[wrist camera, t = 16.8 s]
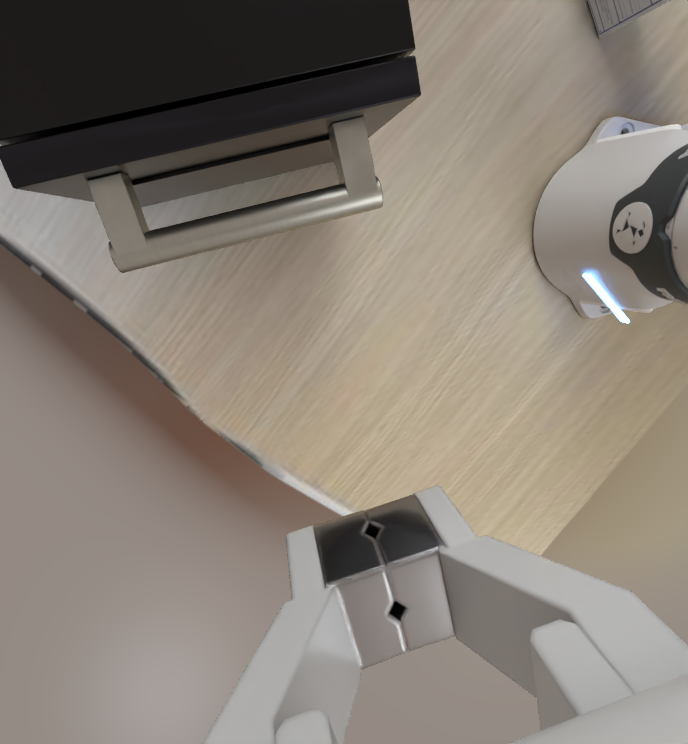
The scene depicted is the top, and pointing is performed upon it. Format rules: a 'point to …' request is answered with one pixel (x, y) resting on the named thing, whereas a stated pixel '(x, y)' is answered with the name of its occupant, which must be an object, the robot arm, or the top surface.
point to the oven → (175, 53)
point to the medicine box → (619, 13)
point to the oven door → (222, 160)
